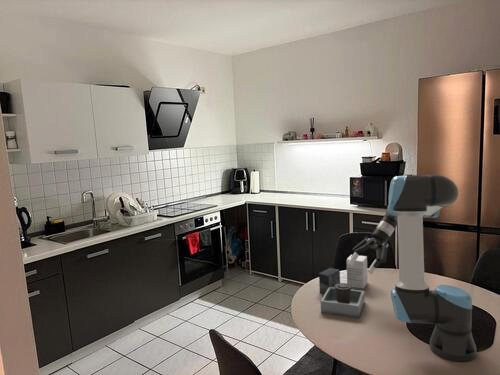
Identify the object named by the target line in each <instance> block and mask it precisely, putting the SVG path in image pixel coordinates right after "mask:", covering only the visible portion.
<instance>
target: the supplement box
mask: <svg viewBox="0 0 500 375" xmlns="http://www.w3.org/2000/svg"><path fill="white" fill-rule="evenodd" d="M352 255H353V254H350V255H349V256H348V257H347V259H346V282H347V283H346V284H350V285H351V286H352V288H356V289H365V287H366V286H367V284H368V282H369V280H368V256H367V255H359V256H358V258H357V259H356V261H355V262H354V264H353V265H352V266H351V265H350V264H349V263H348V262H349V260H350V259H351V256H352Z"/></svg>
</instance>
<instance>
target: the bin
mask: <svg viewBox="0 0 500 375" xmlns="http://www.w3.org/2000/svg"><path fill="white" fill-rule="evenodd" d="M364 304H365V290H359V289H358V290H356V289H351V294H350V304H347V303H339V302H337V296H336V289H335V288H334V287H329V288H328V289H327V291H326V293H325V294H323V296H322V298H321V300H320V313H322V314H327V315H328V314H330V315H336V316H342V317H351V318H358V319H359V318H360V316H361V313H362V312H363V308H364Z"/></svg>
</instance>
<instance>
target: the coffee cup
mask: <svg viewBox="0 0 500 375" xmlns="http://www.w3.org/2000/svg"><path fill="white" fill-rule="evenodd" d="M334 288H335V289H336V296H337V302H339V303H347V304H350V294H351V290H353V287H352V286H351V285H350V284H347V283H346V282H344V283H343V282H340V283H339V284H336V285H335V286H334Z"/></svg>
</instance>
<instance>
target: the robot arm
mask: <svg viewBox="0 0 500 375" xmlns="http://www.w3.org/2000/svg"><path fill="white" fill-rule="evenodd" d="M456 184H457V183H455V182H454V181H453V180H452V179H450V178H449V177H447V176H445V175H440V174H418V175H417V174H405V175H398V176H397V175H395V176H394V177H393V178H392V179H391V181H390V185H389V190H388V205H387V206H386V207H387V208H386V211H385V214H384V216H383V217H382V219H381V220H380V222H379V223H378V224H377V226H376V228H375V229H374V230H373V232H372V234H371V238H369V237H368V236H365V237H364V238H363V240H361V241H360V242H358V243H357V244H356V245H355V246H354V247H352V251H353V253H352V254H351V255H352V256H351V259H350V260H349V262H348V263H349V264H350V265H351V266H352V265H353V264H354V262H355V261H356V259H357V258H358V256H360V254H361V253H364V252H365V251H367V250H370V249H371V250H374V251H375V252H376V253H375V254H376V258H375V259H374V261H373V262H372V263H371V265H370V266H369V268H367V273H369V274H371V275H373V273H374V272H375V270H376V269H378V268H379V266H380V265H381V264H382V263H383V264H386V263H387V262H386V261H387V255H388V249H389V247H390V245H389V243H388V241H389V239H390V237H391V236H392V234H394V231H395V230H396V228H397V241H398V242H397V243H398V246H397V247H398V277H399V279H398V280H397V282H395V284H394V285H395V286H394V288H392V289H390V297H391V304H392V308H393V311H394V312H393V313H394V316H395V318H396V320H397V321H399V322H402V323H409V324H412V323H414V324H416V323H417V324H434V325H435V326H434V329H433V331H432V334H431V336H430V339H429V348H430V350H431V351H432V352H433V353H434V354H435V355H436V356H438V357H440V358H442V359H445V360H449V361H452V362H458V363H459V362H460V363H461V362H464V363H465V362H470V361H473V360H474V359H475V358H477V346H476V343H475V340H474V337H473V334H472V322H473V321H472V320H473V318H472V317H473V315H472V313H473V312H472V311H473V300H472V299H473V298H472V296H471V294H470V293H468V291H466V290H464V289H462V288H461V287H458V286H453V285H449V284H440V285H436V286H435V288H434V290H432V289H431V290H430V285H429V284H427V283H426V282H425V261H424V260H425V253H424V224H423V223H424V222H423V221H424V218H426V219H428V218H429V219H433V218H438V217H439V216H440V212H441V209H442V208H447V207H450V206H451V205H453V204H454V203H455V202H456V201H457V200H458V198H459V188H458V186H457V185H456Z"/></svg>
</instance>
